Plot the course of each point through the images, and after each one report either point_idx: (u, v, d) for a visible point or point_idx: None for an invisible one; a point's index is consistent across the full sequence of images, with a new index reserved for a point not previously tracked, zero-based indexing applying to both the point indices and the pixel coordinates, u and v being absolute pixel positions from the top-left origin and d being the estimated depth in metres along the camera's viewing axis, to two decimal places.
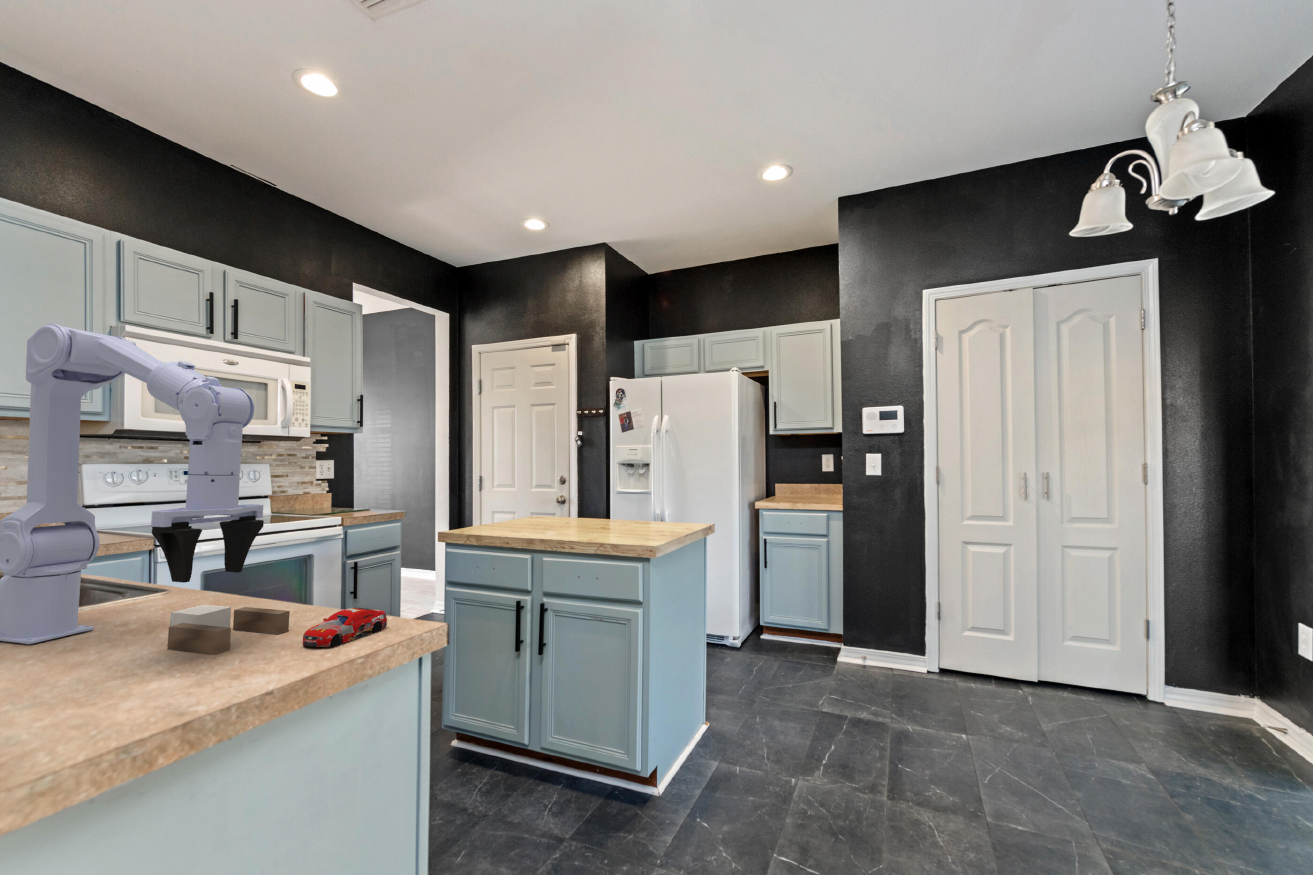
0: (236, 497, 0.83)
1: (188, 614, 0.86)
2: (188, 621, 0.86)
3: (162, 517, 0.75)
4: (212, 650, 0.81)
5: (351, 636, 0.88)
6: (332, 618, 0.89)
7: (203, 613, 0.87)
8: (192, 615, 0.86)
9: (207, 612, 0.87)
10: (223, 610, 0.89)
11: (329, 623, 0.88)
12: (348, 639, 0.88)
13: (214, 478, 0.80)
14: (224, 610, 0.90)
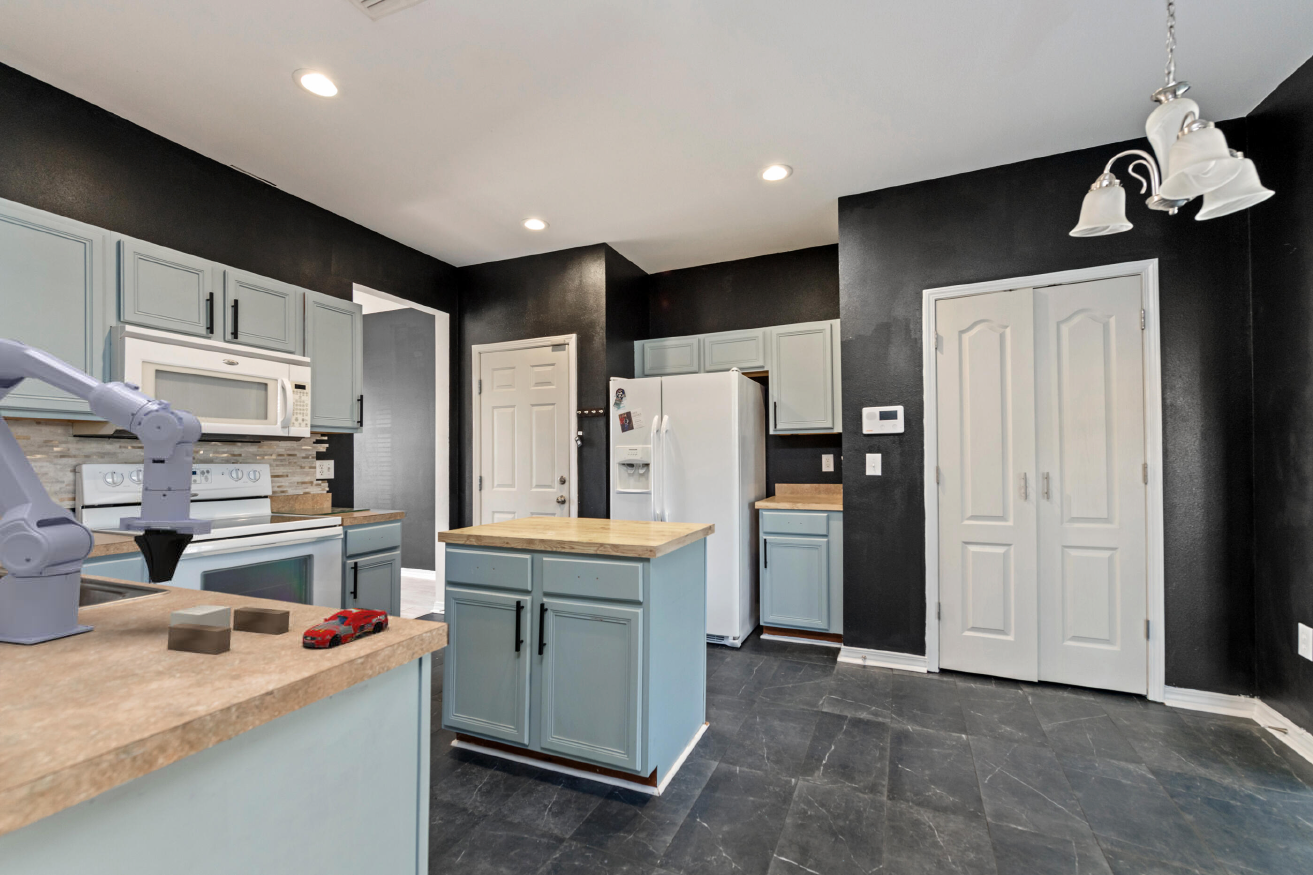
0: (154, 511, 0.88)
1: (188, 614, 0.86)
2: (188, 621, 0.86)
3: None
4: (212, 650, 0.81)
5: (350, 636, 0.88)
6: (332, 618, 0.89)
7: (203, 613, 0.87)
8: (192, 615, 0.86)
9: (207, 612, 0.87)
10: (223, 610, 0.89)
11: (329, 623, 0.88)
12: (347, 639, 0.88)
13: (142, 492, 0.89)
14: (224, 610, 0.90)
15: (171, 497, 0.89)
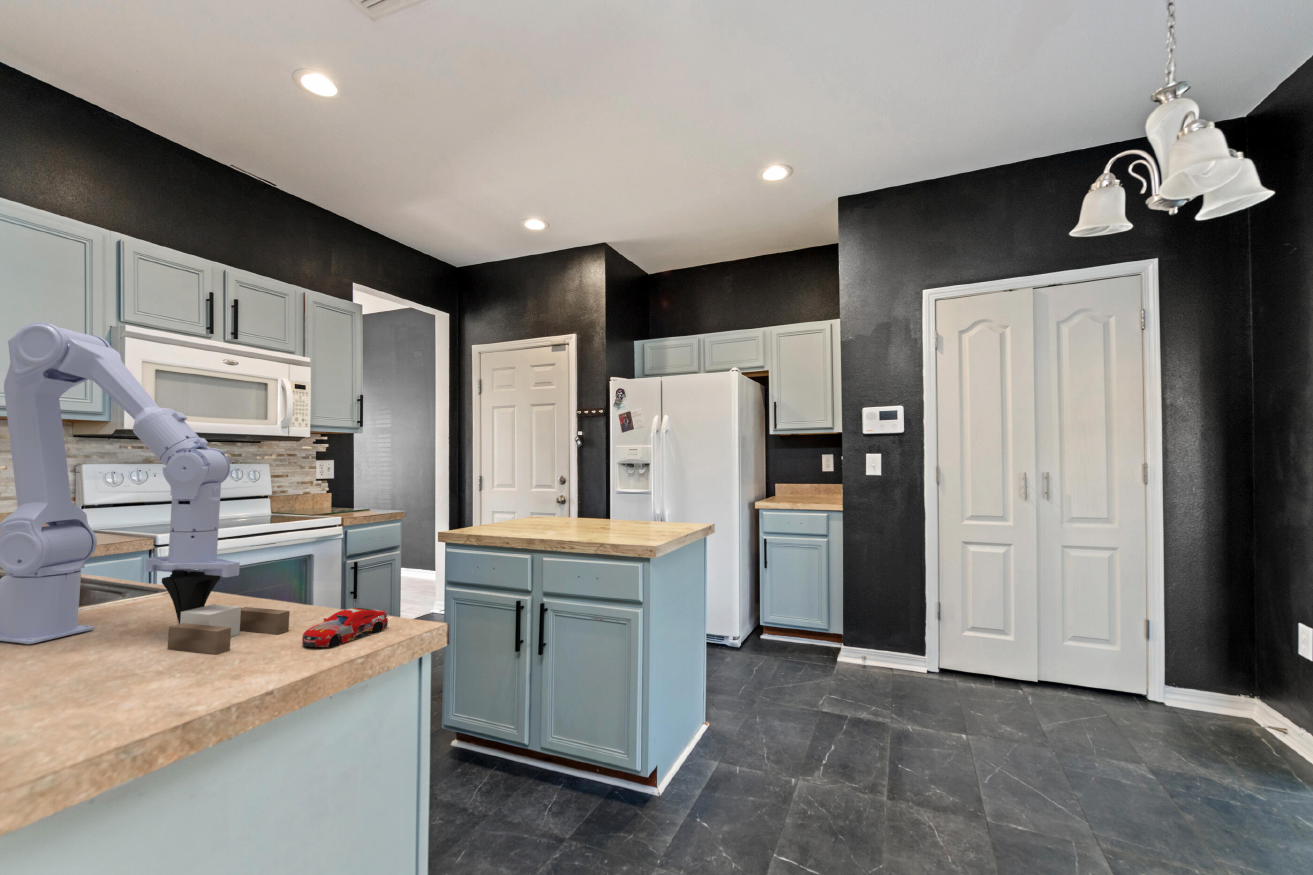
0: (182, 553, 0.87)
1: (198, 614, 0.86)
2: (198, 621, 0.86)
3: None
4: (212, 650, 0.81)
5: (350, 636, 0.88)
6: (332, 618, 0.89)
7: (213, 613, 0.86)
8: (202, 615, 0.86)
9: (218, 611, 0.87)
10: (233, 610, 0.89)
11: (329, 623, 0.88)
12: (347, 639, 0.88)
13: None
14: (234, 610, 0.89)
15: (199, 538, 0.88)
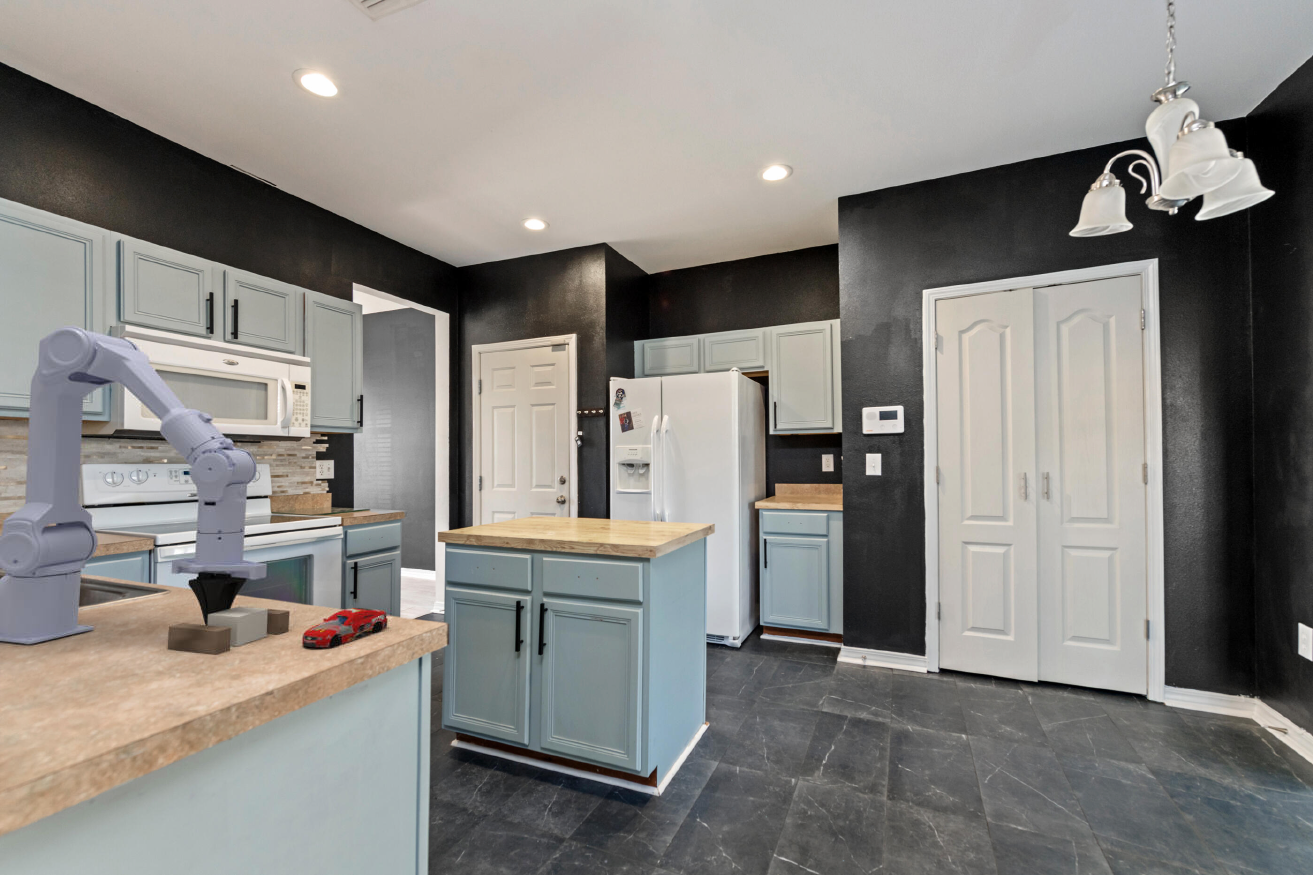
0: (209, 555, 0.86)
1: (226, 616, 0.85)
2: (226, 623, 0.85)
3: None
4: (212, 650, 0.81)
5: (351, 636, 0.88)
6: (332, 618, 0.89)
7: (241, 615, 0.85)
8: (230, 617, 0.85)
9: (245, 614, 0.86)
10: (260, 612, 0.88)
11: (329, 623, 0.88)
12: (347, 639, 0.88)
13: (196, 535, 0.87)
14: (261, 612, 0.88)
15: (226, 540, 0.87)
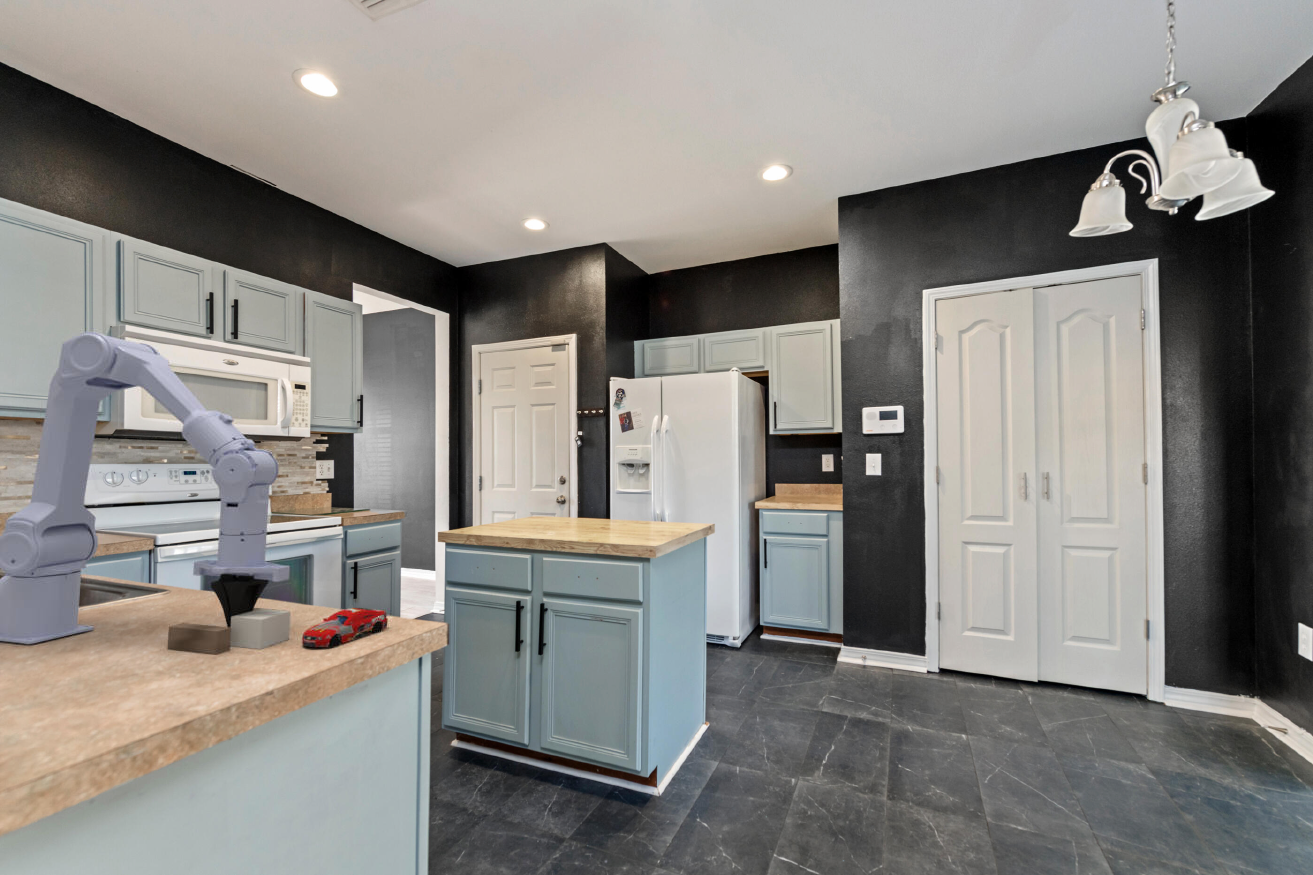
0: (232, 557, 0.85)
1: (250, 619, 0.84)
2: (249, 626, 0.84)
3: None
4: (212, 650, 0.81)
5: (350, 636, 0.88)
6: (332, 618, 0.89)
7: (265, 618, 0.85)
8: (254, 620, 0.84)
9: (269, 616, 0.85)
10: (283, 614, 0.87)
11: (329, 623, 0.88)
12: (347, 639, 0.87)
13: (219, 536, 0.86)
14: (284, 614, 0.88)
15: (249, 542, 0.86)
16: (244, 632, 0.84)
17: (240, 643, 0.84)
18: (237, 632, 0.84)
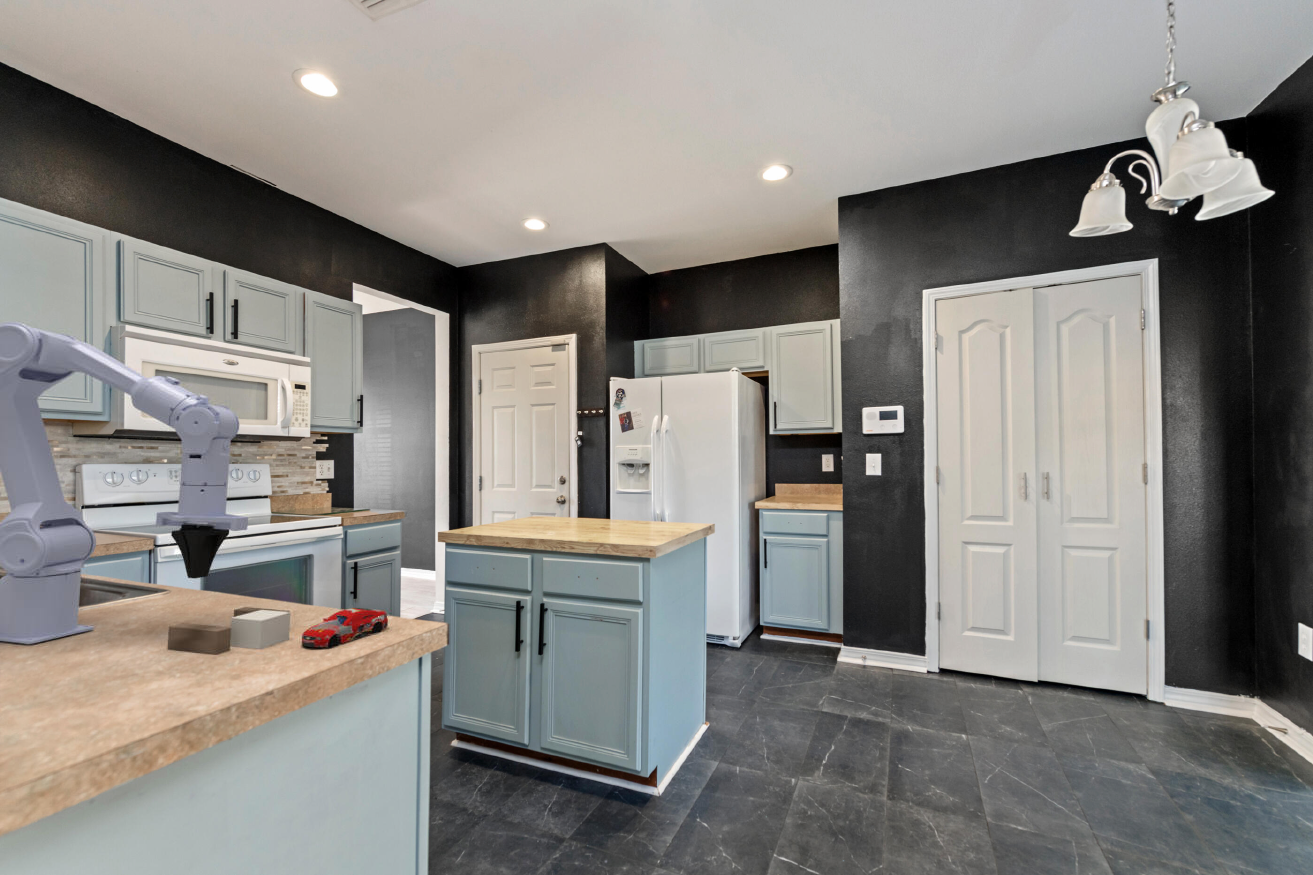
0: (192, 506, 0.88)
1: (249, 620, 0.84)
2: (249, 627, 0.84)
3: None
4: (212, 650, 0.81)
5: (350, 636, 0.88)
6: (331, 618, 0.89)
7: (264, 619, 0.85)
8: (254, 621, 0.84)
9: (268, 617, 0.85)
10: (283, 615, 0.87)
11: (328, 623, 0.88)
12: (347, 639, 0.87)
13: (180, 487, 0.89)
14: (284, 615, 0.88)
15: (209, 492, 0.89)
16: (244, 633, 0.84)
17: (240, 644, 0.84)
18: (237, 633, 0.84)
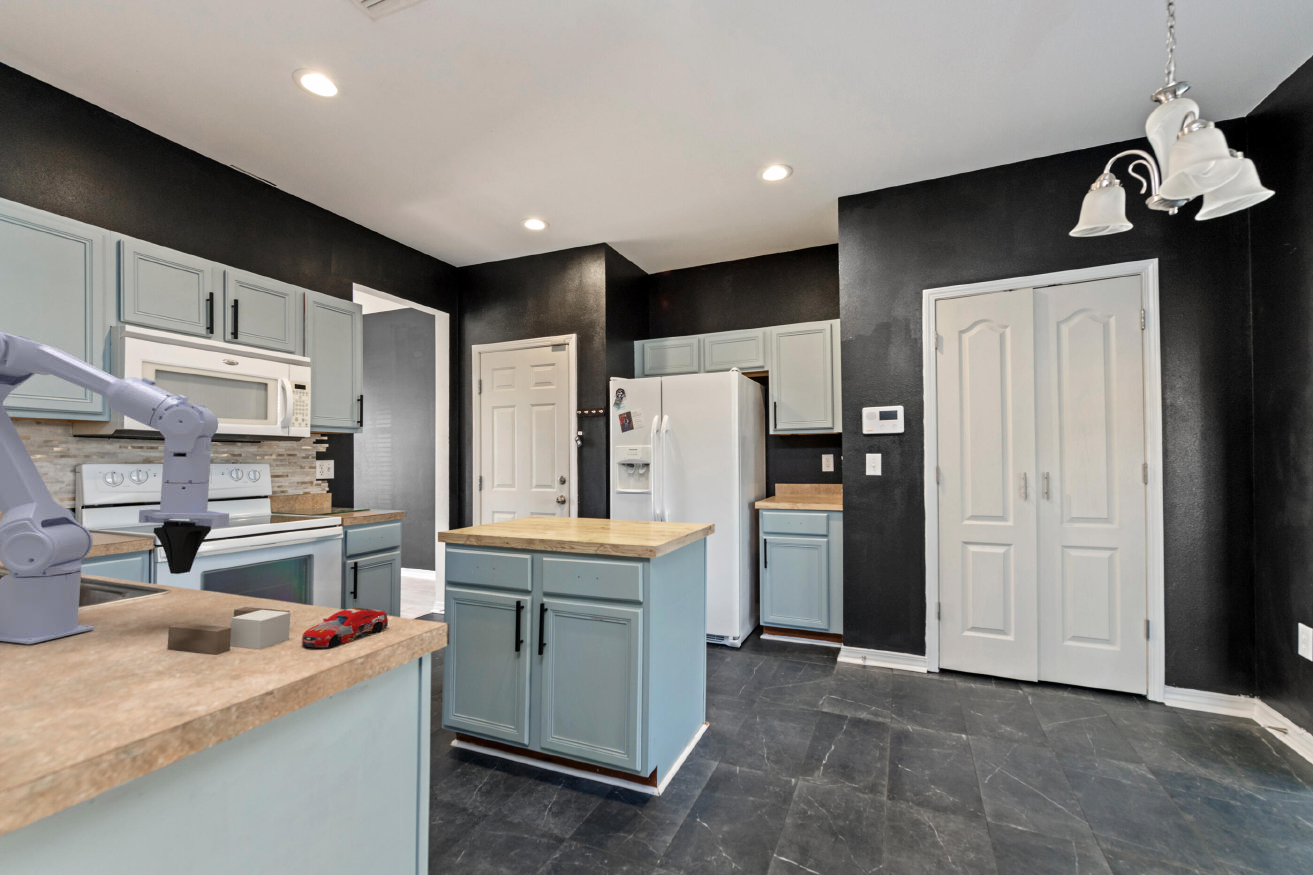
0: (173, 503, 0.90)
1: (249, 620, 0.84)
2: (249, 627, 0.84)
3: None
4: (212, 650, 0.81)
5: (350, 637, 0.88)
6: (332, 618, 0.89)
7: (264, 619, 0.85)
8: (253, 621, 0.84)
9: (268, 617, 0.85)
10: (283, 616, 0.87)
11: (328, 623, 0.88)
12: (347, 640, 0.87)
13: None
14: (284, 615, 0.87)
15: (190, 490, 0.91)
16: (244, 633, 0.84)
17: (240, 644, 0.84)
18: (237, 633, 0.84)
